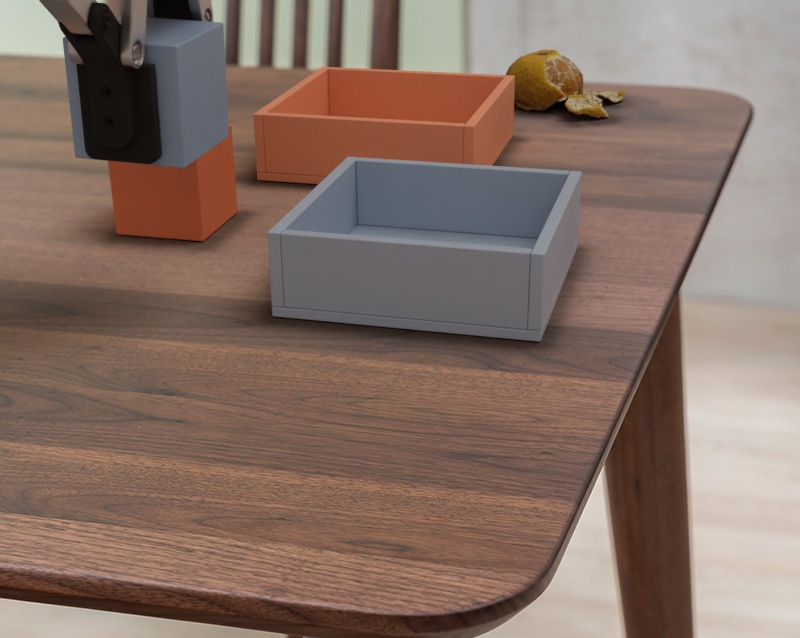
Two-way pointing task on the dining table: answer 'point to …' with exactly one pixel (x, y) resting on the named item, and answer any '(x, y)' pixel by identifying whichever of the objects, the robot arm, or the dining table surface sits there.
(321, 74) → the terracotta bin
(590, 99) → the fruit
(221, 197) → the terracotta block
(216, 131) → the slate block
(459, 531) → the dining table surface
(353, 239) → the slate bin
